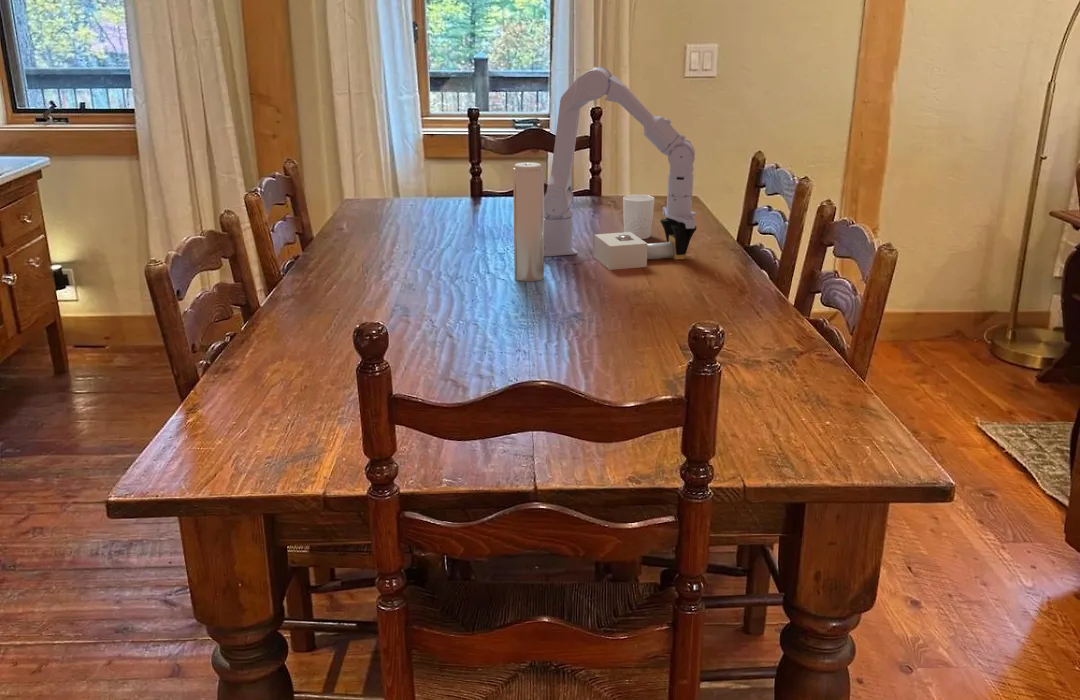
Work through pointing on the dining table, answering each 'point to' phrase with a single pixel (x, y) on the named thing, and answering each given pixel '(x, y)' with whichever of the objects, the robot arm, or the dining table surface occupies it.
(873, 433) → the dining table surface
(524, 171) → the white tall cylinder
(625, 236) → the plunger
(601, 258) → the housing
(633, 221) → the white cup
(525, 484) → the dining table surface
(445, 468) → the dining table surface
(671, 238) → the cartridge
